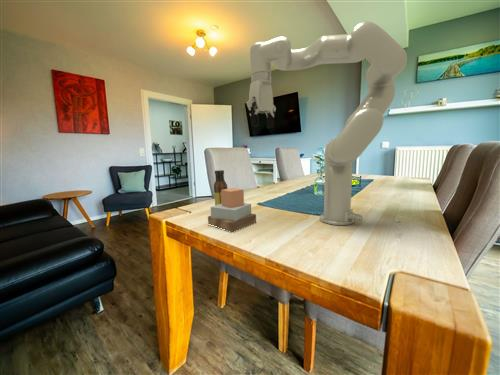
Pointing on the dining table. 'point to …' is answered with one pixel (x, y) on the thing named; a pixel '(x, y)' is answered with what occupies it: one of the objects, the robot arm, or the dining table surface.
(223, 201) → the terracotta cube
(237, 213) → the slate block
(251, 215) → the walnut block
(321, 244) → the dining table surface
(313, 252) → the dining table surface
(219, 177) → the sauce bottle
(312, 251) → the dining table surface
